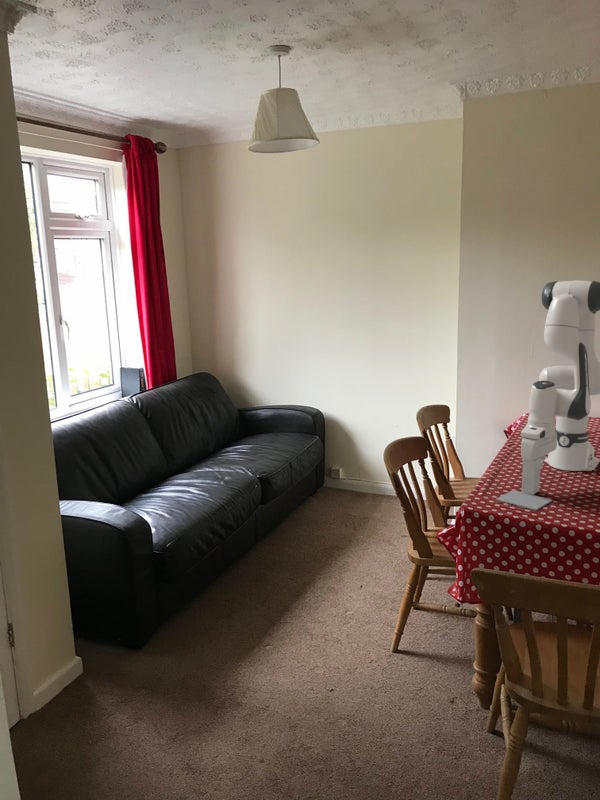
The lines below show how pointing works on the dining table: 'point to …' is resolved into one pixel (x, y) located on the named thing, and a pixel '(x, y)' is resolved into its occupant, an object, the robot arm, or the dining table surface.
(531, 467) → the skincare box
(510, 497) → the mat
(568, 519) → the dining table surface
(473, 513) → the dining table surface
